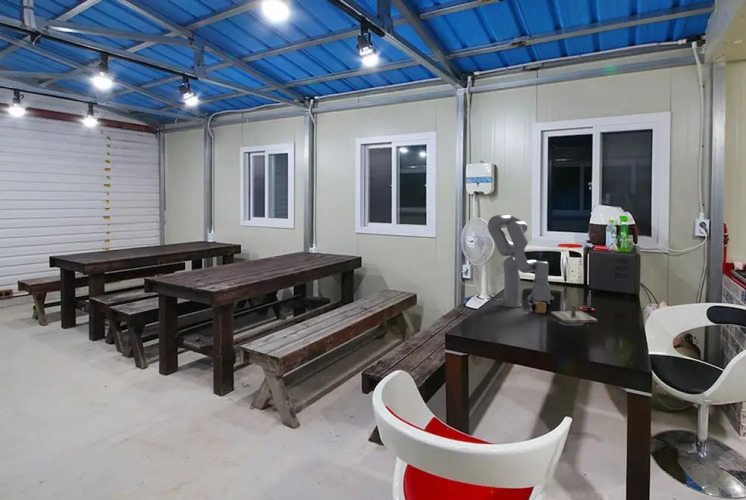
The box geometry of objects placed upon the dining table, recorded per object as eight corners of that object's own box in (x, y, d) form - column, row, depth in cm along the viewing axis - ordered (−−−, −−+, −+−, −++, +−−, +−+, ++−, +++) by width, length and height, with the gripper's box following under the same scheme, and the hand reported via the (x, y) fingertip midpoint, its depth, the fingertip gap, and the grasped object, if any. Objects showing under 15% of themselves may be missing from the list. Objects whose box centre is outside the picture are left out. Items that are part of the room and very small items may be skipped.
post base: (565, 322, 234) (565, 309, 233) (550, 314, 252) (551, 301, 251) (597, 322, 234) (598, 309, 233) (580, 313, 252) (581, 301, 251)
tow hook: (577, 308, 266) (582, 311, 256) (577, 288, 264) (582, 290, 255) (591, 308, 264) (596, 312, 255) (592, 288, 263) (597, 291, 254)
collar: (537, 313, 254) (537, 304, 254) (532, 310, 261) (533, 302, 260) (547, 312, 254) (548, 304, 254) (543, 310, 261) (543, 302, 260)
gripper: (529, 283, 251) (528, 312, 254) (558, 282, 252) (557, 311, 254) (524, 280, 259) (523, 308, 261) (552, 280, 259) (551, 308, 261)
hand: (540, 310), depth 257 cm, fingers open, 7 cm apart
